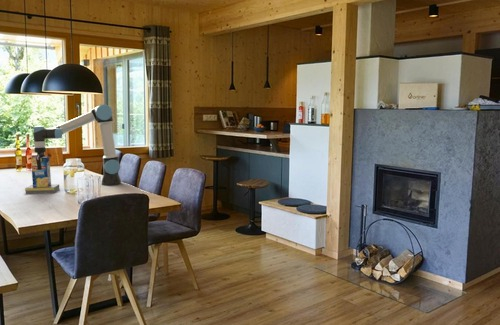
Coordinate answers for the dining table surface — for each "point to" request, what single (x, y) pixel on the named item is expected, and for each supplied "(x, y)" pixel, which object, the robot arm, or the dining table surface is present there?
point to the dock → (42, 189)
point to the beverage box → (41, 172)
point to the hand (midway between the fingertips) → (42, 178)
